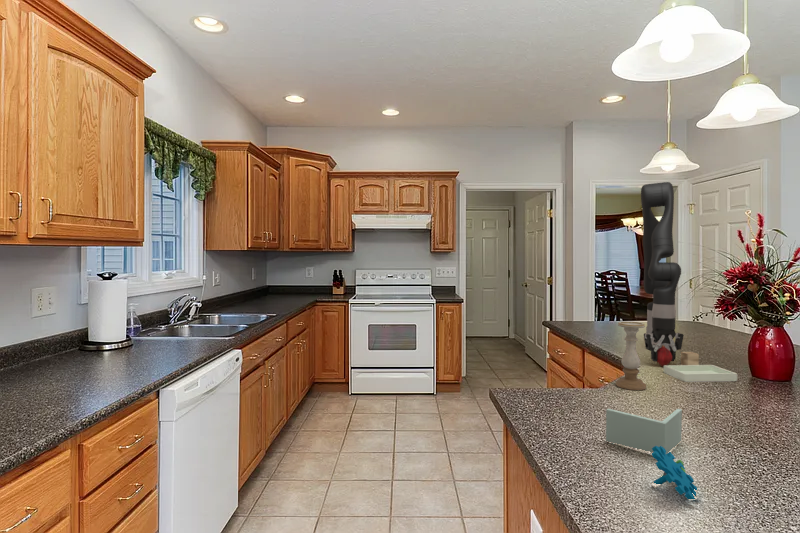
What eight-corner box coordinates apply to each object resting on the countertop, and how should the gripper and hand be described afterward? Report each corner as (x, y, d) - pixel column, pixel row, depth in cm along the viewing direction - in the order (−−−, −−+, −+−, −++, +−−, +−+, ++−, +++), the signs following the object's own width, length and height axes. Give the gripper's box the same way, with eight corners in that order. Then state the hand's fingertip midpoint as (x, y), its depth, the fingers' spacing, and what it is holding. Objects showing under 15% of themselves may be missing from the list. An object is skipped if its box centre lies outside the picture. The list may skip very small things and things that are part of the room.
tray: (663, 372, 162) (663, 365, 162) (712, 371, 162) (712, 364, 162) (684, 381, 150) (684, 374, 150) (737, 381, 151) (737, 373, 151)
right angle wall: (681, 442, 103) (681, 409, 103) (664, 459, 95) (665, 423, 95) (625, 427, 112) (626, 397, 112) (605, 442, 104) (606, 409, 103)
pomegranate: (675, 368, 167) (675, 346, 167) (659, 368, 167) (659, 346, 167) (666, 364, 173) (666, 343, 173) (651, 364, 173) (651, 343, 173)
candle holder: (624, 390, 141) (625, 325, 140) (610, 382, 150) (610, 321, 149) (652, 390, 141) (653, 325, 141) (636, 382, 150) (637, 320, 150)
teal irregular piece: (696, 505, 75) (651, 448, 80) (666, 521, 78) (624, 465, 83) (708, 488, 83) (666, 438, 89) (681, 503, 86) (642, 453, 91)
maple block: (680, 365, 172) (681, 351, 172) (691, 364, 172) (691, 351, 172) (687, 367, 168) (687, 354, 168) (698, 367, 168) (698, 354, 168)
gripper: (676, 314, 173) (675, 358, 174) (639, 314, 173) (638, 358, 174) (689, 317, 166) (688, 363, 166) (650, 317, 166) (649, 363, 166)
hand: (663, 360), depth 170 cm, fingers closed on pomegranate, 5 cm apart
